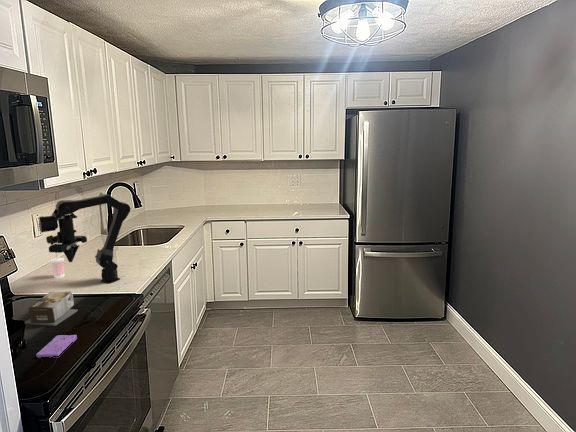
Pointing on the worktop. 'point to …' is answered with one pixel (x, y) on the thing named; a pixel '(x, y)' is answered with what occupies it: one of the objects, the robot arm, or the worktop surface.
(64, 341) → the sponges
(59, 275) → the beverage cup
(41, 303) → the coffee box
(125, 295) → the worktop surface
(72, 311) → the tipping mat
